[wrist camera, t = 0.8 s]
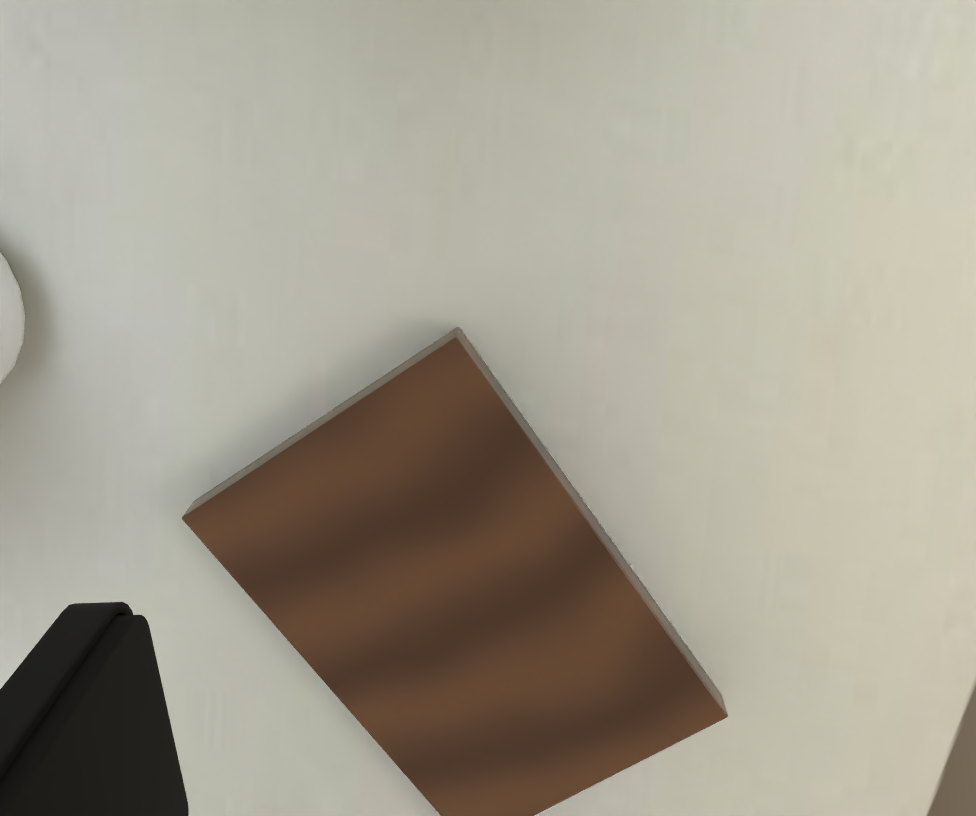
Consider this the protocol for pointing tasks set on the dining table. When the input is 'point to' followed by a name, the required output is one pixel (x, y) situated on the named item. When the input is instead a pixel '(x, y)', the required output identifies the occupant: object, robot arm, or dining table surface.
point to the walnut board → (458, 592)
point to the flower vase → (10, 319)
